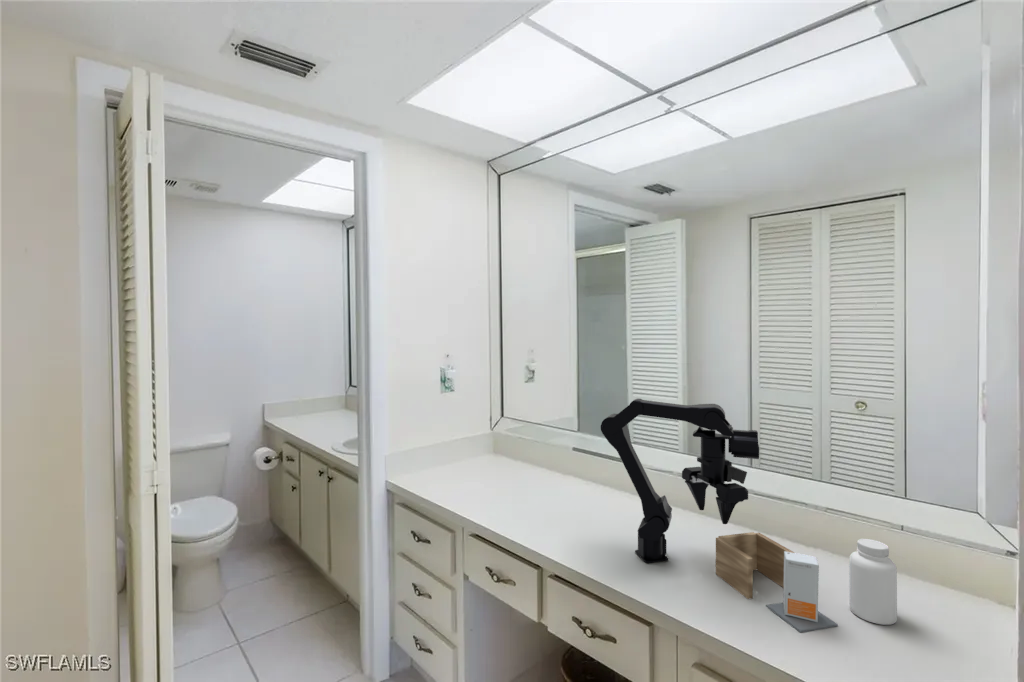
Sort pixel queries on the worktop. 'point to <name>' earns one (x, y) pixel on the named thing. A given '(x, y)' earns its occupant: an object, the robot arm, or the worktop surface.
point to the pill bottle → (873, 583)
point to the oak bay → (749, 560)
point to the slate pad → (800, 623)
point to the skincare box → (801, 586)
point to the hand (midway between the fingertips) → (712, 516)
